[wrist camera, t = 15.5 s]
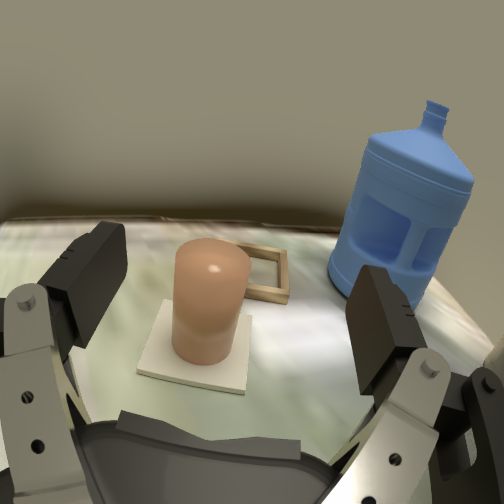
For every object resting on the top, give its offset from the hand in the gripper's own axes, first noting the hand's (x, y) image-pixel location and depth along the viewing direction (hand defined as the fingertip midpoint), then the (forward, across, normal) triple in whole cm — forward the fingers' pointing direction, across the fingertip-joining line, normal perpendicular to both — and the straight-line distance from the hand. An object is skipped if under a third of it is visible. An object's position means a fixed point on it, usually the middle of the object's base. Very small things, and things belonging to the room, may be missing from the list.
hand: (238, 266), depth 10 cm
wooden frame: (+26, -1, +20) cm, 32 cm away
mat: (+12, +3, +19) cm, 23 cm away
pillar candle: (+13, +3, +18) cm, 23 cm away
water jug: (+29, -20, +20) cm, 41 cm away
